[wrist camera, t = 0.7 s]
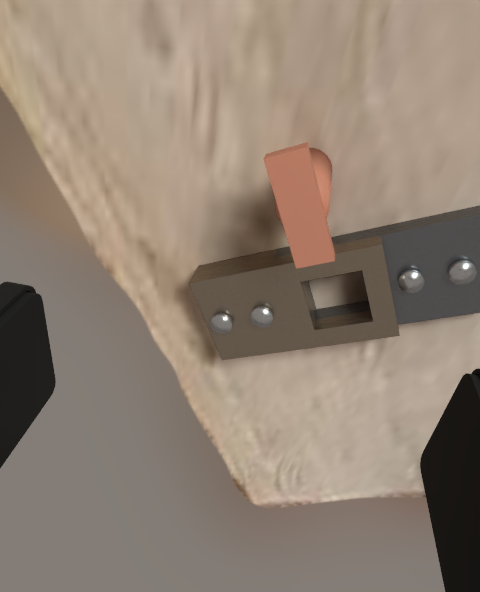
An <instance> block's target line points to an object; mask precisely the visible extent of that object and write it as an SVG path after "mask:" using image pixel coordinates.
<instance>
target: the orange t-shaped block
mask: <svg viewBox="0 0 480 592" xmlns="http://www.w3.org/2000/svg"><path fill="white" fill-rule="evenodd" d="M264 162H265V166H266V169H267V172H268V176H269V179H270V182H271V186H272V189H273V193H274V196H275V199H276V203H275V207H276V213H277V215H278V217H279V219H280V220H281V222H282V223H283V226H284V229H285V233H286V236H287V240H288V243H289V246H290V250H291V253H292V256H293V260H294V263H295V266H296V269H297V268H302V267H308V266H313V265H318V264H323V263H328V262H333V261H335V251H334V247H333V243H332V239H331V235H330V231H329V227H328V223H327V219H326V217H327V215H328V213H329V208H330V193H331V178H332V165H331V162H330V159H329V158H328V156H327V155H326V154H325V153H324V152H322V151H320V150H318V149H315V148H309V146H308V142H307V143H303V144H300V145H296V146H293V147H289V148H286V149H282V150H279V151H276V152H272V153H269V154H266V155H265V157H264Z"/></svg>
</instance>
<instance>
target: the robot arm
mask: <svg viewBox="0 0 480 592" xmlns="http://www.w3.org/2000/svg"><path fill="white" fill-rule="evenodd" d="M54 388H55V374H54V368H53V363H52V356H51V350H50V344H49V338H48V331H47V325H46V319H45V313H44V307H43V301H42V298H41V296H40V295H39V294H36V291H35V289H34V288H33V287H31V286H28V285H22V284H17V283H12V282H4V283H2V284H1V285H0V468H1V466H2V465H3V464H4V462H5V461H6V459H7V458H8V457H9V455H10V454H11V452H12V451H13V449H14V448H15V447H16V445H17V444H18V442H19V441H20V439H21V438H22V437H23V435H24V434H25V432H26V431H27V429H28V428H29V427H30V425H31V424H32V422H33V421H34V419H35V418H36V417H37V415H38V414H39V412H40V411H41V409H42V408H43V407H44V405H45V404H46V402H47V401H48V399H49V398H50V397H51V395H52V393H53V391H54ZM420 467H421V474H422V479H423V484H424V489H425V493H426V498H427V503H428V508H429V513H430V518H431V523H432V528H433V533H434V537H435V542H436V548H437V552H438V557H439V562H440V567H441V572H442V577H443V581H444V587H445V592H480V369H476V370H474V371H473V372H472V374H465V375H464V376H463V377H462V379H461V380H460V382H459V384H458V386H457V388H456V390H455V392H454V394H453V396H452V398H451V400H450V402H449V403H448V405H447V407H446V409H445V411H444V413H443V415H442V417H441V419H440V421H439V423H438V424H437V426H436V428H435V430H434V432H433V434H432V436H431V438H430V440H429V442H428V444H427V446H426V447H425V449H424V451H423V453H422V457H421V463H420Z"/></svg>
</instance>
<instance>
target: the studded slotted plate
mask: <svg viewBox="0 0 480 592" xmlns="http://www.w3.org/2000/svg"><path fill="white" fill-rule="evenodd" d="M331 239H332V243H333V247H334V251H335V261H333V262H328V263H323V264H318V265H313V266H308V267H302V268H297V269H296V266H295V263H294V260H293V256H292V253H291V250H290V246H289V247H284V248H280V249H275V250H270V251H266V252H261V253H256V254H252V255H247V256H242V257H238V258H233V259H228V260H224V261H219V262H214V263H210V264H205V265H200V266H198V268H197V270H196V272H195V274H194V275H193V277H192V279H191V281H190V283H189V285H190V287H191V290H192V292H193V294H194V296H195V299H196V301H197V303H198V306H199V308H200V310H201V313H202V315H203V317H204V320H205V322H206V324H207V327H208V329H209V331H210V333H211V336H212V338H213V340H214V343H215V345H216V347H217V350H218V352H219V354H220V357H221V359H222V360H226V359H233V358H241V357H248V356H255V355H263V354H270V353H277V352H285V351H292V350H299V349H306V348H314V347H321V346H328V345H336V344H343V343H350V342H357V341H365V340H372V339H379V338H387V337H394V336H400V335H399V329H398V324H404V323H411V322H418V321H425V320H432V319H439V318H446V317H453V316H459V315H466V314H473V313H480V206H476V207H471V208H467V209H462V210H457V211H453V212H448V213H443V214H439V215H434V216H429V217H425V218H420V219H415V220H411V221H406V222H401V223H397V224H392V225H387V226H383V227H378V228H373V229H369V230H364V231H359V232H355V233H350V234H345V235H341V236H336V237H331ZM361 270H362V272H363V277H364V281H365V286H366V291H367V295H368V300H369V301H365V302H359V303H353V304H347V305H341V306H335V307H329V308H322V309H316V307H315V303H314V300H313V296H312V293H311V289H310V286H309V282H308V280H313V279H318V278H323V277H329V276H334V275H339V274H345V273H350V272H356V271H361Z"/></svg>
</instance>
